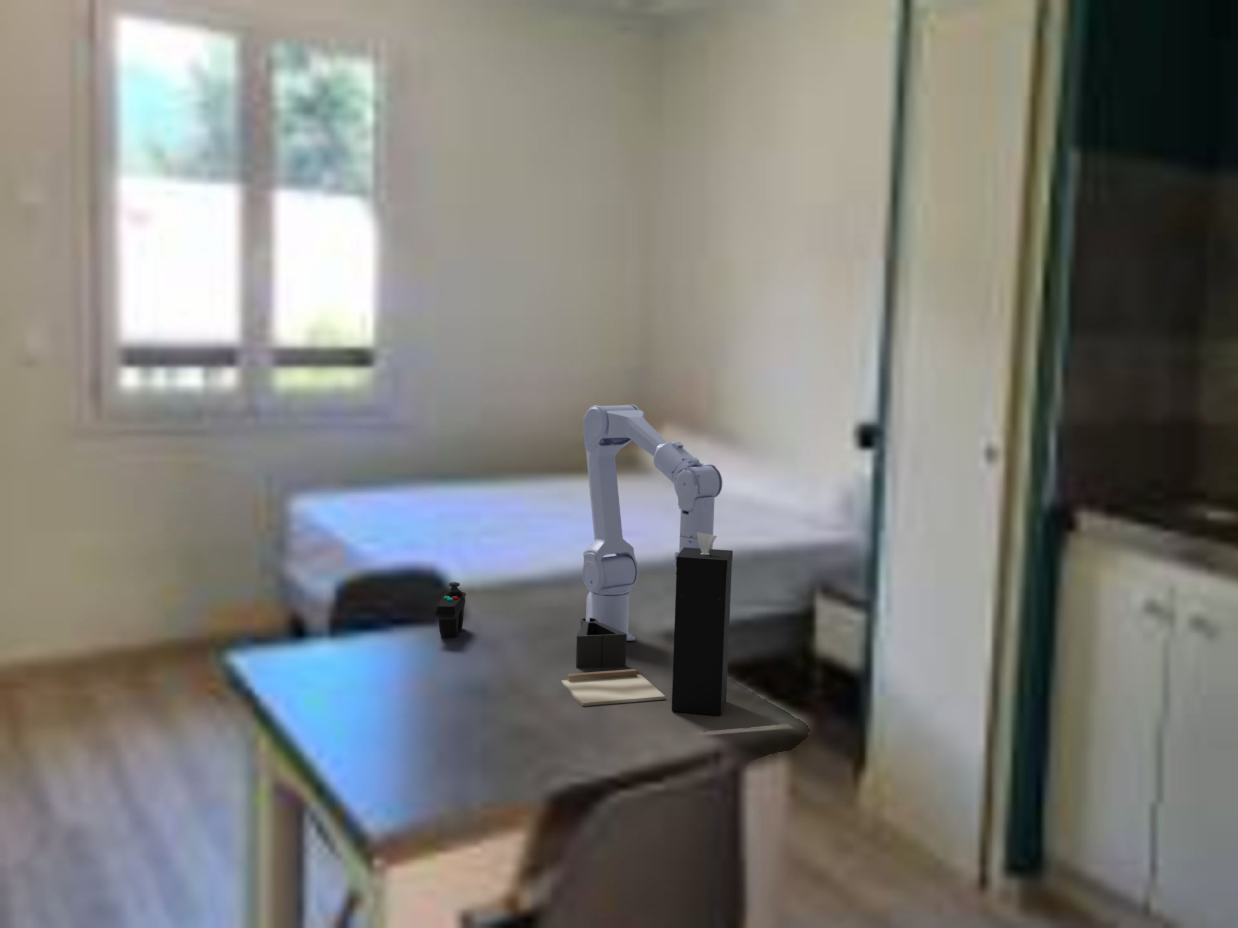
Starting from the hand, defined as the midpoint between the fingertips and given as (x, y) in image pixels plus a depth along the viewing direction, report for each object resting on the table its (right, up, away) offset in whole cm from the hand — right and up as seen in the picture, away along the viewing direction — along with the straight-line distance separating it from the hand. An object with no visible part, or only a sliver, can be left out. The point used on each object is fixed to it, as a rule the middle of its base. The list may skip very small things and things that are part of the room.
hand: (693, 612), depth 204 cm
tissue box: (0, -13, -17) cm, 22 cm away
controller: (-45, -7, +17) cm, 48 cm away
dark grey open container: (-16, -7, +1) cm, 17 cm away
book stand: (-14, -12, -11) cm, 21 cm away
